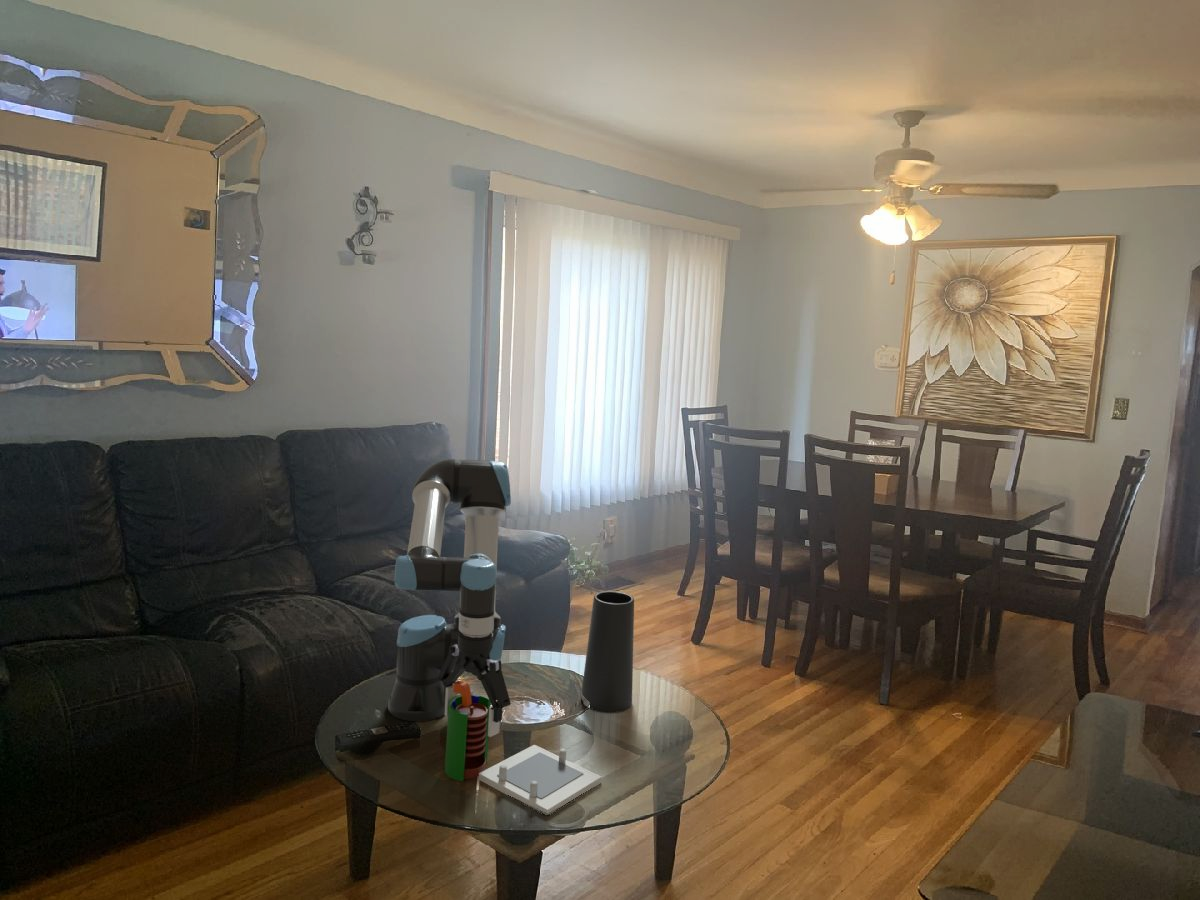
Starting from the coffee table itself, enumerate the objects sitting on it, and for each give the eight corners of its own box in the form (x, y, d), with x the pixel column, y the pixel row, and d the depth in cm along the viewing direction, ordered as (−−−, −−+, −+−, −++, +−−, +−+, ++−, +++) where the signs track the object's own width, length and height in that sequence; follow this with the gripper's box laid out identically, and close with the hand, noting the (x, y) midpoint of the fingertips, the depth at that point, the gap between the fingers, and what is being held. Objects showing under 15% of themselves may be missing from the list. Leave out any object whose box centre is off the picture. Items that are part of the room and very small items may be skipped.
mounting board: (478, 779, 194) (479, 760, 193) (534, 750, 208) (535, 732, 207) (547, 816, 182) (548, 796, 181) (601, 782, 196) (602, 764, 195)
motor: (476, 784, 192) (480, 697, 189) (437, 777, 194) (441, 691, 191) (491, 761, 202) (495, 678, 199) (454, 755, 204) (458, 672, 200)
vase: (632, 714, 230) (640, 608, 225) (579, 711, 230) (587, 604, 225) (631, 692, 243) (639, 590, 238) (581, 688, 243) (588, 587, 238)
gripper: (424, 620, 196) (420, 710, 200) (505, 652, 181) (500, 749, 185) (449, 613, 202) (445, 700, 206) (530, 643, 187) (524, 737, 191)
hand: (471, 724), depth 195 cm, fingers open, 13 cm apart
